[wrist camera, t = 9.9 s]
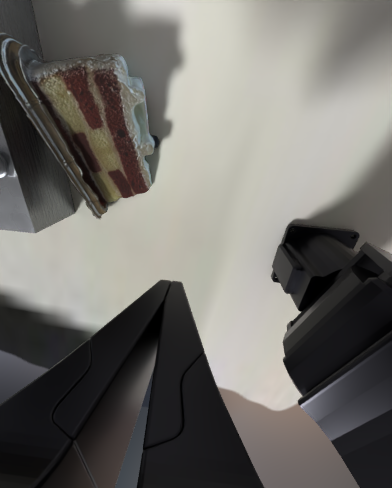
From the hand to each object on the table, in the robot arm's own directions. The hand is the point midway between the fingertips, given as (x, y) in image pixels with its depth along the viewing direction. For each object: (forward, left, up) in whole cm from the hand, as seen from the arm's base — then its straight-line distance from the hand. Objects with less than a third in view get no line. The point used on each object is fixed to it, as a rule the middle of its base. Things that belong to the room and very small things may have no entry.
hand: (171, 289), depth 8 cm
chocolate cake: (+7, -5, -12) cm, 15 cm away
